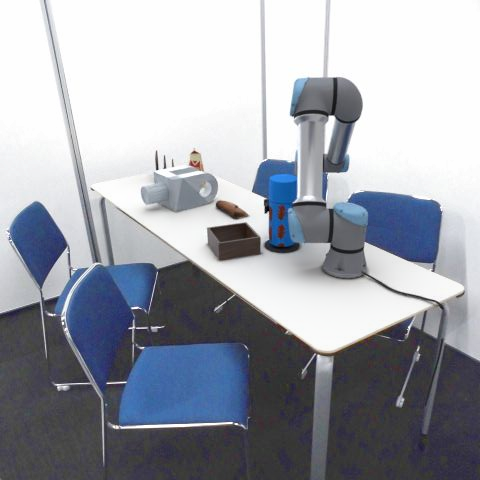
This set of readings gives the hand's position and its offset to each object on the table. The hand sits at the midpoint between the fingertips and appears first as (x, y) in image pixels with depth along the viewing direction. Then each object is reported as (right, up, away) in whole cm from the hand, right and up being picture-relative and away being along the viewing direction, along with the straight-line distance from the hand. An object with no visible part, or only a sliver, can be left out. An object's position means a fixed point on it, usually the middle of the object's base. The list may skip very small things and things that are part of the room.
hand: (280, 212), depth 176 cm
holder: (-18, -12, +10) cm, 24 cm away
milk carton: (-39, +34, +82) cm, 97 cm away
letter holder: (-58, +42, +96) cm, 119 cm away
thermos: (+2, -9, +11) cm, 14 cm away
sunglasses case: (-19, +10, +45) cm, 50 cm away
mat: (+2, -11, +11) cm, 16 cm away
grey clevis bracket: (-45, +17, +56) cm, 74 cm away
